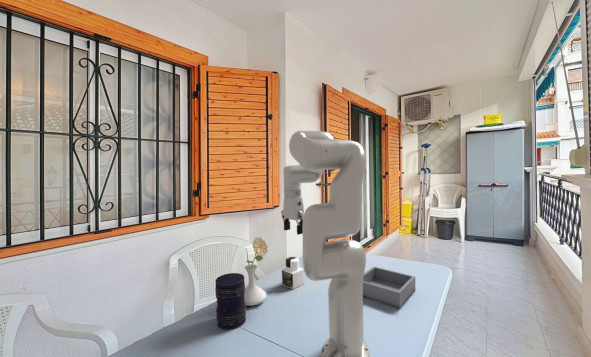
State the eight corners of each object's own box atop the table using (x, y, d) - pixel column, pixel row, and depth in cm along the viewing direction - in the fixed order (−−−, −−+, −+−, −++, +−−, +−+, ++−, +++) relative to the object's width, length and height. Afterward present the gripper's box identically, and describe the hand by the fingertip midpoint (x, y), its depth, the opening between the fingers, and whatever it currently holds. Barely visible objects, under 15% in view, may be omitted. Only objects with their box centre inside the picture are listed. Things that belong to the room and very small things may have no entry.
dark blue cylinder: (211, 329, 85) (209, 284, 84) (223, 312, 94) (222, 272, 94) (240, 331, 83) (238, 285, 83) (250, 314, 93) (248, 273, 92)
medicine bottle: (281, 284, 116) (281, 258, 115) (293, 279, 121) (292, 254, 120) (292, 289, 111) (292, 262, 110) (304, 284, 116) (303, 258, 115)
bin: (399, 309, 93) (399, 293, 93) (355, 294, 105) (354, 279, 105) (415, 290, 107) (415, 276, 107) (374, 279, 119) (373, 266, 118)
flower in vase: (246, 312, 94) (244, 244, 93) (232, 300, 103) (230, 238, 102) (275, 300, 102) (273, 237, 101) (260, 290, 111) (258, 232, 110)
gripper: (311, 194, 110) (312, 234, 110) (288, 191, 123) (288, 227, 124) (297, 196, 105) (298, 237, 106) (274, 193, 119) (275, 229, 120)
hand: (293, 231), depth 115 cm, fingers open, 9 cm apart
